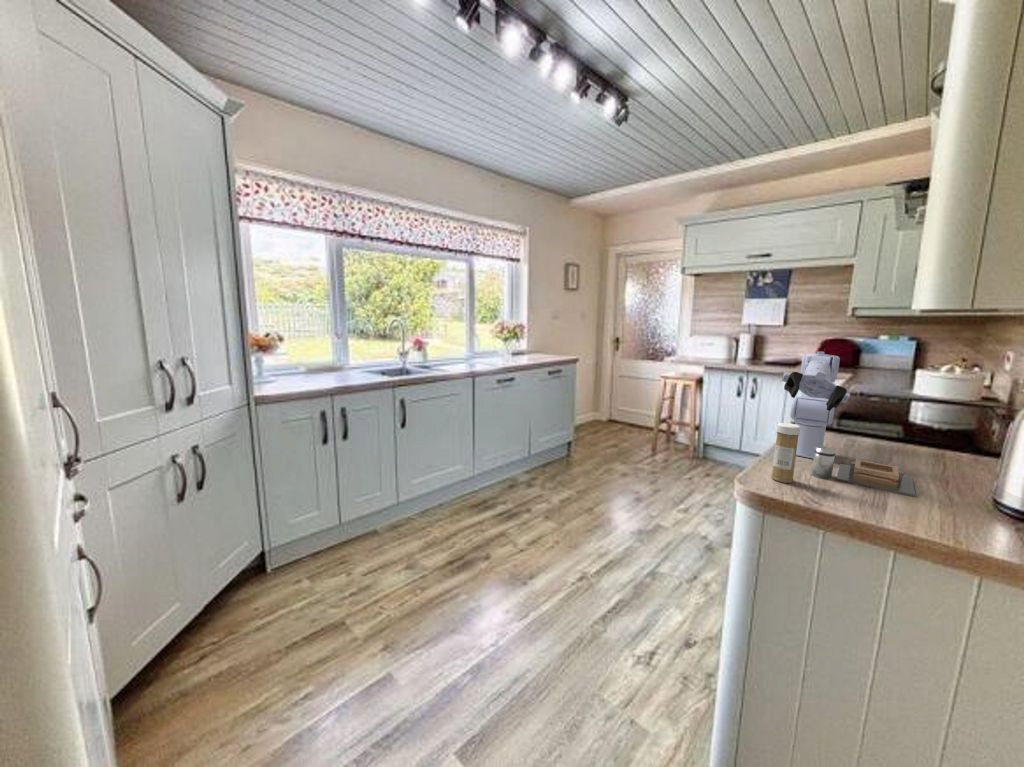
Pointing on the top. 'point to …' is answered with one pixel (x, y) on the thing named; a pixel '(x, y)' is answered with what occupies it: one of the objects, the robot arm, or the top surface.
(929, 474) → the top surface
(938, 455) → the top surface
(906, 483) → the collar stand
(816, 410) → the robot arm
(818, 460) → the metal cylinder
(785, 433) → the sprinkles bottle
